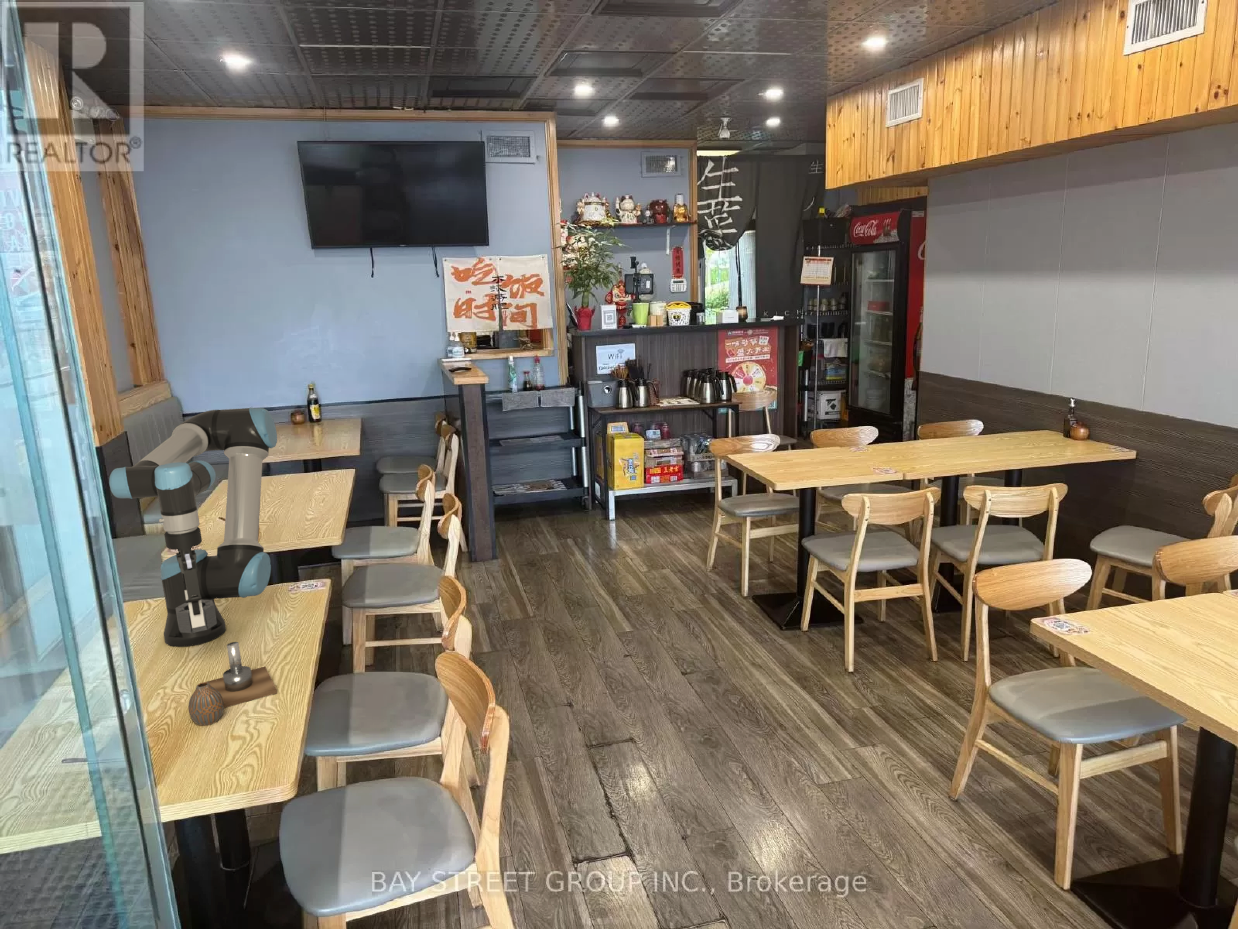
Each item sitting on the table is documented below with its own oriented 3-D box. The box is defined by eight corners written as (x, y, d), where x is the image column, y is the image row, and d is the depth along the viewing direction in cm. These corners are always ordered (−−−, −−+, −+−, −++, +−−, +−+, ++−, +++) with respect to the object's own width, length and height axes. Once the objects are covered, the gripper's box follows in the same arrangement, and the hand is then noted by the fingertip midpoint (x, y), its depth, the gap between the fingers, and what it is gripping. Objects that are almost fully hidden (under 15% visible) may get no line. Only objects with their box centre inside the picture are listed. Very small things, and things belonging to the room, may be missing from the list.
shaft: (223, 684, 197) (216, 643, 195) (250, 677, 200) (244, 636, 198) (227, 694, 192) (220, 652, 190) (254, 686, 195) (248, 645, 193)
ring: (177, 624, 201) (174, 605, 200) (214, 616, 205) (211, 597, 204) (180, 635, 194) (177, 615, 193) (218, 627, 198) (215, 607, 197)
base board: (203, 687, 199) (202, 682, 198) (265, 670, 206) (265, 666, 205) (211, 711, 187) (210, 706, 187) (276, 693, 194) (276, 688, 194)
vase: (216, 709, 188) (211, 674, 186) (231, 719, 183) (225, 682, 181) (185, 722, 183) (179, 686, 181) (200, 732, 178) (193, 695, 176)
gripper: (160, 522, 201) (175, 610, 206) (167, 543, 184) (183, 639, 189) (195, 516, 205) (208, 603, 210) (204, 536, 188) (219, 630, 193)
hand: (196, 620), depth 199 cm, fingers closed on ring, 8 cm apart
